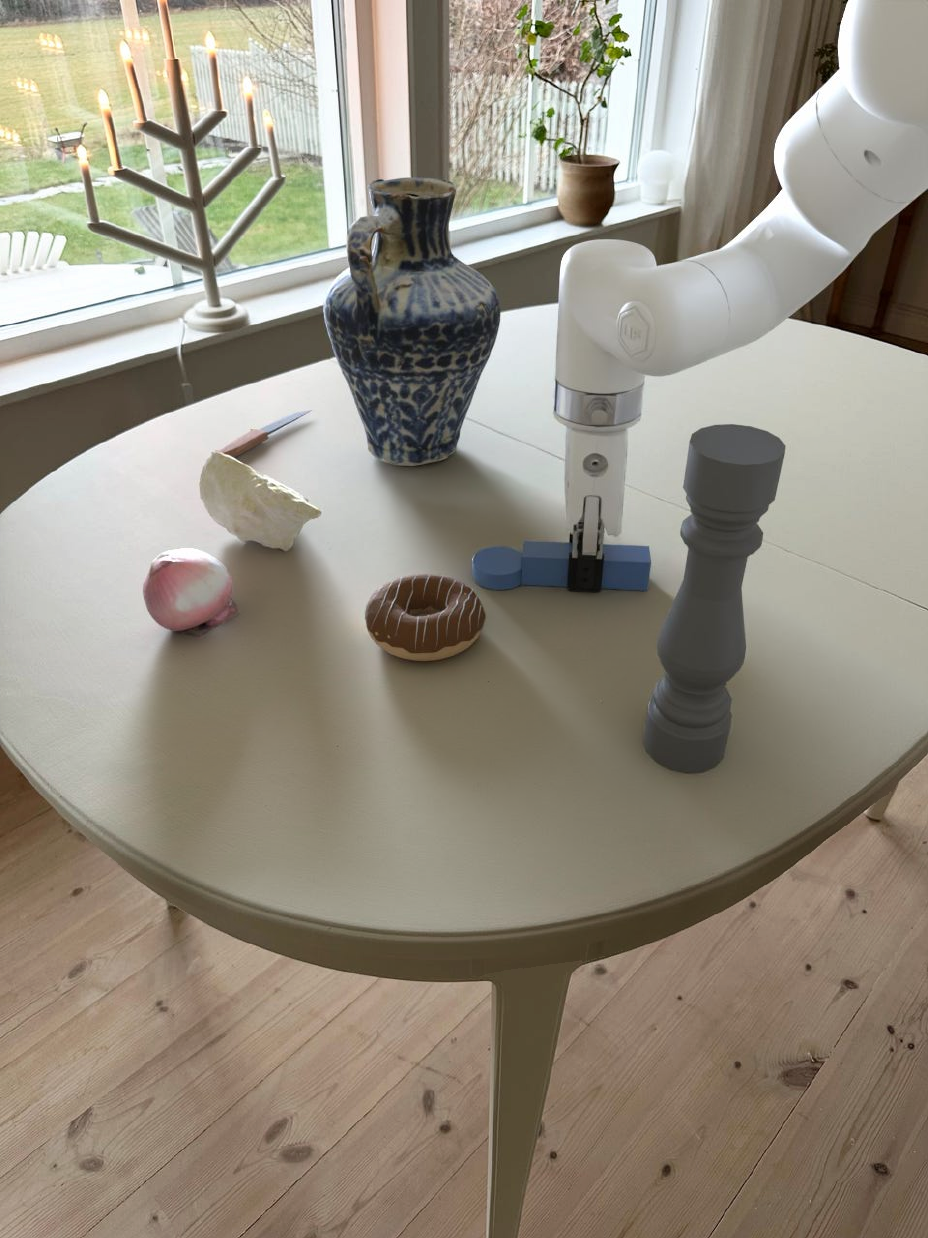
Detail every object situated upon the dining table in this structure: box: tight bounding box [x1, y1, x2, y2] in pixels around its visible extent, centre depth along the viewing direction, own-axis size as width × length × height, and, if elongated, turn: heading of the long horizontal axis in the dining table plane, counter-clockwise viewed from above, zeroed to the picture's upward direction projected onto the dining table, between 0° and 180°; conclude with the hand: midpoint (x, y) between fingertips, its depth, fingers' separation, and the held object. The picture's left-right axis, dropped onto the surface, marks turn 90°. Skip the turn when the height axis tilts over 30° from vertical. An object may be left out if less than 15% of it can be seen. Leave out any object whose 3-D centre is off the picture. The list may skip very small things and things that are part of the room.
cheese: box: [198, 450, 322, 552], centre depth 94 cm, size 15×7×15 cm
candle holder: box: [642, 423, 787, 774], centre depth 63 cm, size 6×6×25 cm
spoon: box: [471, 540, 652, 592], centre depth 88 cm, size 17×5×3 cm, turn 84°
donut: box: [364, 573, 487, 662], centre depth 81 cm, size 11×11×4 cm
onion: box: [142, 547, 241, 637], centre depth 82 cm, size 8×8×7 cm
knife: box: [210, 410, 313, 458], centre depth 115 cm, size 17×1×3 cm
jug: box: [323, 176, 501, 467], centre depth 103 cm, size 21×19×30 cm
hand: (583, 577), depth 89 cm, fingers closed on spoon, 3 cm apart
